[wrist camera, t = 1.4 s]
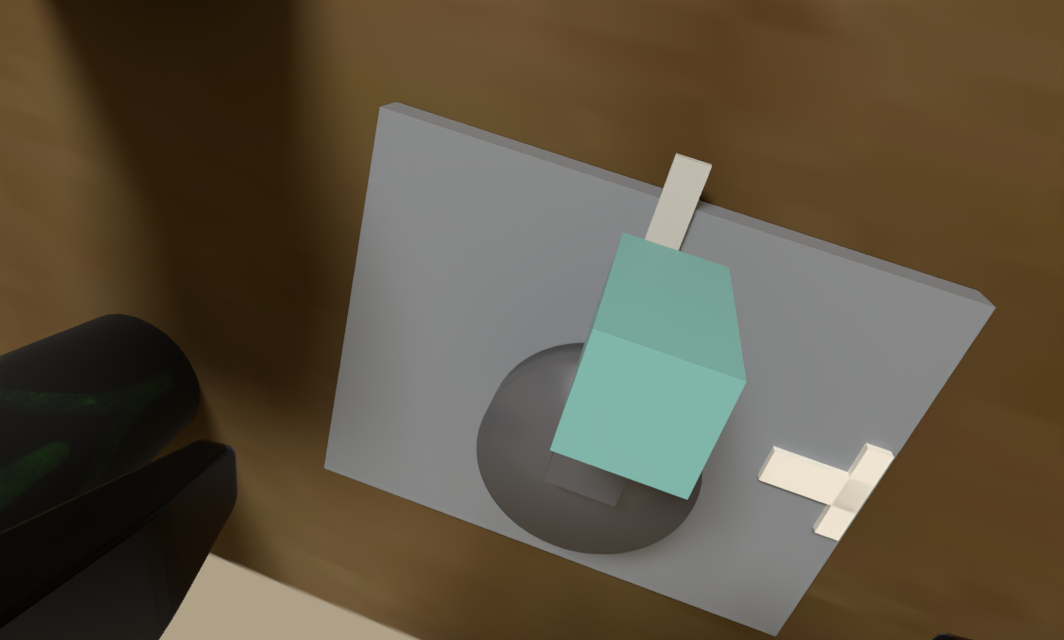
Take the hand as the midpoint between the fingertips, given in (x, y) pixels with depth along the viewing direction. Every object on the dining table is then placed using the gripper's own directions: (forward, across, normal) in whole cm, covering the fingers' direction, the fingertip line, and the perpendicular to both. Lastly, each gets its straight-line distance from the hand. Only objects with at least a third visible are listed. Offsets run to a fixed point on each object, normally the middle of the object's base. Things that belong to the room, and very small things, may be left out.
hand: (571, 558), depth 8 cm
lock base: (+13, -1, +6) cm, 15 cm away
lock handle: (+10, -1, +4) cm, 11 cm away
